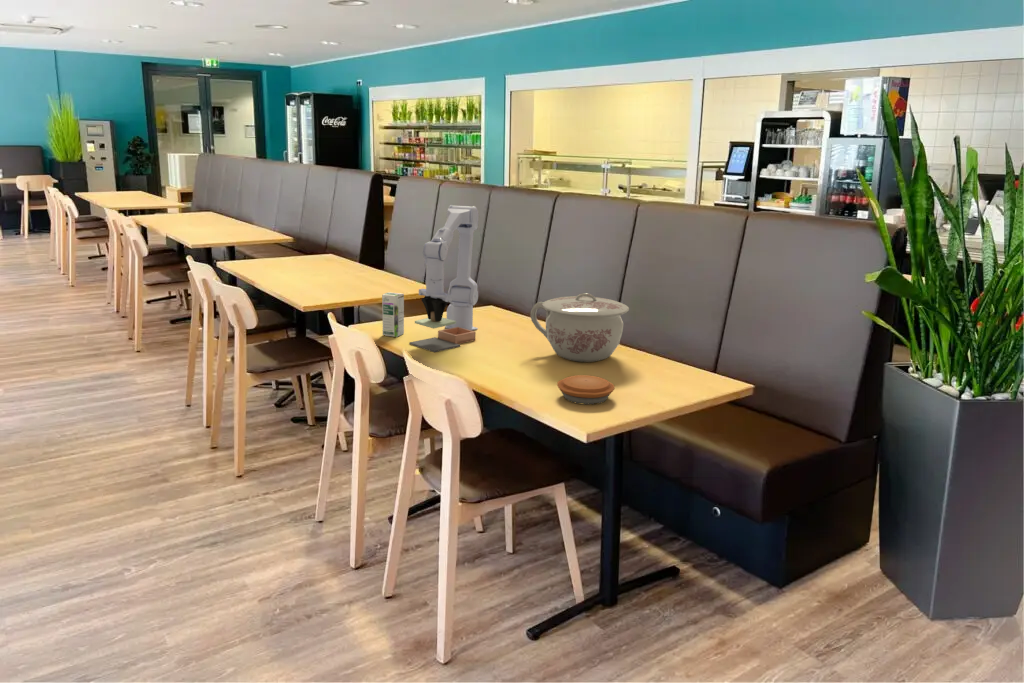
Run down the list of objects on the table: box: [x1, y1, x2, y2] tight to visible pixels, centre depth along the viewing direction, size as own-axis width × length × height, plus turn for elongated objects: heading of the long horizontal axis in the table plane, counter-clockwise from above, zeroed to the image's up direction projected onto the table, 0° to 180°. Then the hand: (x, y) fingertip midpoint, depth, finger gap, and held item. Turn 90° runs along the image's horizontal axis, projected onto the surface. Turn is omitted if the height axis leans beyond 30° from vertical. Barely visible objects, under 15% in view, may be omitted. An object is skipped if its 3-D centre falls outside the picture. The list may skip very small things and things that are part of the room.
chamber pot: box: [530, 292, 630, 363], centre depth 246 cm, size 28×28×21 cm
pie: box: [556, 374, 615, 405], centre depth 209 cm, size 16×16×5 cm
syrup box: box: [381, 291, 405, 338], centre depth 267 cm, size 6×6×14 cm
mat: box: [408, 336, 461, 353], centre depth 257 cm, size 13×11×1 cm
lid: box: [414, 311, 456, 329], centre depth 254 cm, size 10×10×4 cm
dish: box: [437, 327, 476, 345], centre depth 264 cm, size 9×9×3 cm
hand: (434, 319), depth 254 cm, fingers closed on lid, 3 cm apart
